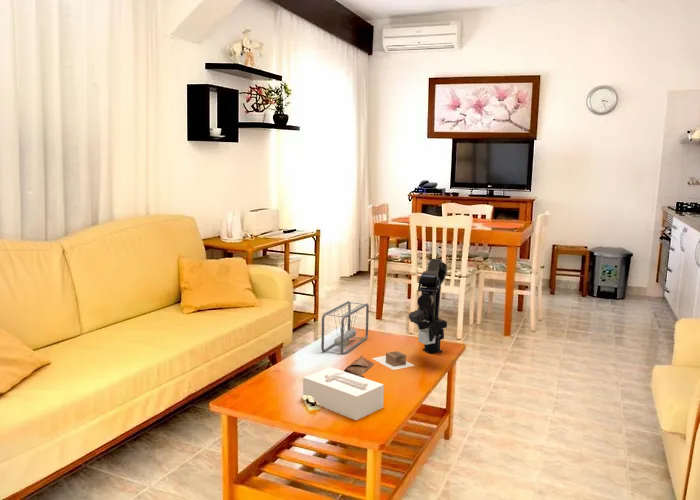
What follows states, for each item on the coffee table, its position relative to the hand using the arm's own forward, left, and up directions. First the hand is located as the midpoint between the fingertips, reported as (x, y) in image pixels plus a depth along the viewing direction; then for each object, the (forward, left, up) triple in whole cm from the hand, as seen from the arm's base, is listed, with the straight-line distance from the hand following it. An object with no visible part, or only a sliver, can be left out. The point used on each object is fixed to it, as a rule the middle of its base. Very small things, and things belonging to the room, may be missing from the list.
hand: (426, 339), depth 253 cm
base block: (+12, -5, -10) cm, 16 cm away
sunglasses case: (+28, -7, -12) cm, 31 cm away
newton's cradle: (+17, -38, -11) cm, 43 cm away
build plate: (+12, -7, -11) cm, 18 cm away
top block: (0, 0, -1) cm, 1 cm away
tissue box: (+51, +18, -11) cm, 55 cm away
